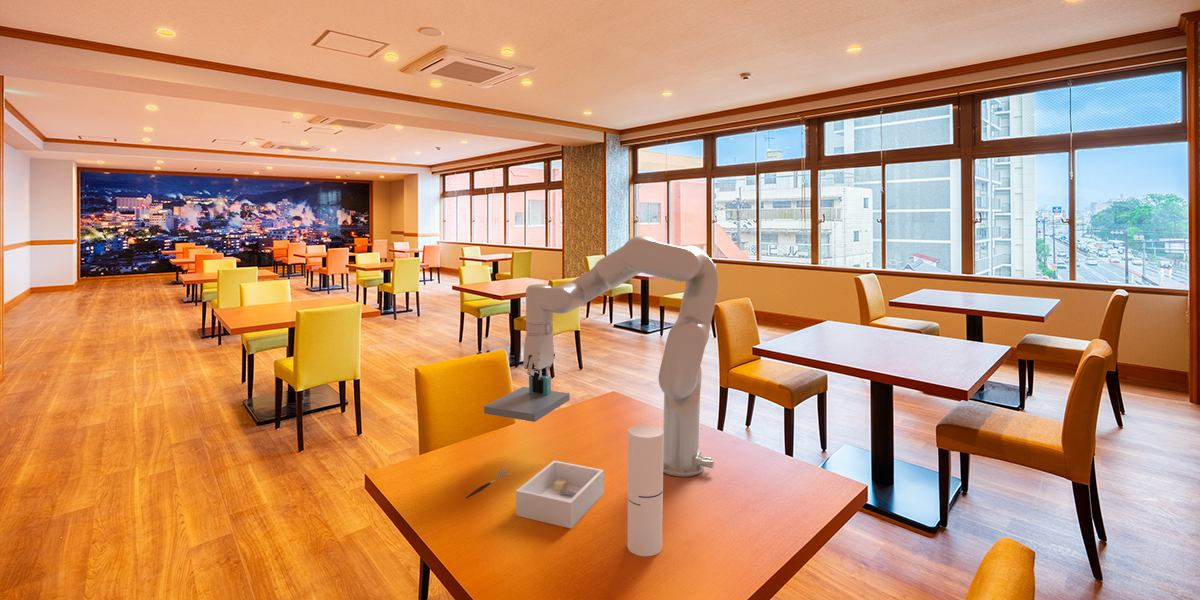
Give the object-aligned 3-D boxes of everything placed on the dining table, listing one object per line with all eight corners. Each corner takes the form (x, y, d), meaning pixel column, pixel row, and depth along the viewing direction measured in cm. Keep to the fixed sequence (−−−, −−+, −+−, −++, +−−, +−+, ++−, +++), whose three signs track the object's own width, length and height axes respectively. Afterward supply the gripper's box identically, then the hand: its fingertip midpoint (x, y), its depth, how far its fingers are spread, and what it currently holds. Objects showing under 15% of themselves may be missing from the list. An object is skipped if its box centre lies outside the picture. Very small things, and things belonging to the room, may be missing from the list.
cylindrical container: (660, 558, 116) (662, 438, 113) (624, 554, 118) (625, 436, 114) (663, 539, 123) (665, 425, 119) (630, 535, 124) (630, 423, 121)
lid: (569, 400, 167) (569, 376, 166) (534, 421, 149) (534, 395, 148) (522, 393, 173) (522, 370, 172) (484, 413, 155) (483, 388, 154)
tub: (604, 493, 143) (604, 470, 143) (571, 528, 127) (570, 502, 126) (554, 482, 149) (553, 460, 148) (516, 515, 133) (515, 490, 132)
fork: (461, 498, 142) (461, 491, 141) (502, 473, 155) (502, 466, 155) (470, 501, 140) (469, 493, 140) (510, 475, 154) (510, 468, 154)
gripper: (541, 322, 173) (542, 382, 175) (513, 332, 158) (514, 397, 161) (564, 324, 170) (564, 385, 172) (537, 334, 155) (537, 401, 158)
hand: (540, 391), depth 167 cm, fingers closed on lid
